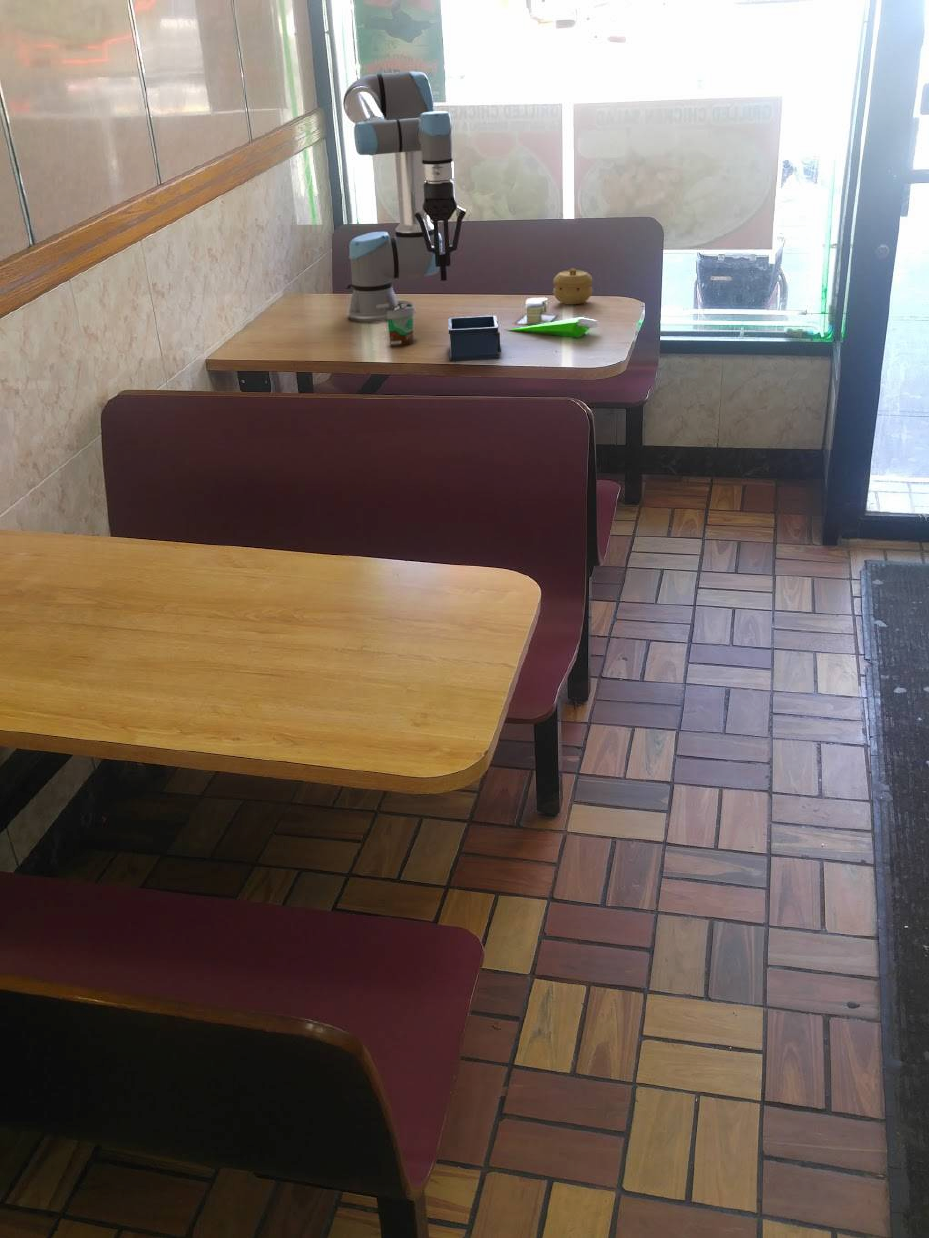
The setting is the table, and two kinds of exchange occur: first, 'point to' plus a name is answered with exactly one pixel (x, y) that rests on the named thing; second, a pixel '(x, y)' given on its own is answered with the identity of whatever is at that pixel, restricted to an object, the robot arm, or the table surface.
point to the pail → (474, 338)
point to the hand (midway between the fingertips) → (443, 279)
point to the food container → (401, 324)
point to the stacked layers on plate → (536, 312)
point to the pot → (572, 286)
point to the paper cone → (562, 327)
